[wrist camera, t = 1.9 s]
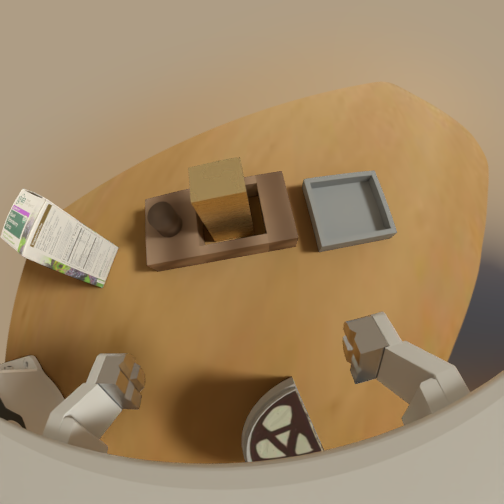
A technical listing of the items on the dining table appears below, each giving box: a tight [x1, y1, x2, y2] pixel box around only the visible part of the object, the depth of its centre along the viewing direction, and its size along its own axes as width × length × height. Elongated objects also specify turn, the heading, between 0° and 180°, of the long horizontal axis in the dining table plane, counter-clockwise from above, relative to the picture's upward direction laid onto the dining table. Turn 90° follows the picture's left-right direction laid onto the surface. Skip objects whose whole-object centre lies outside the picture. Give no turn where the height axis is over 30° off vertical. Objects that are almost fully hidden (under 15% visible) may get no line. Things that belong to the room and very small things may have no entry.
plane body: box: [145, 171, 298, 271], centre depth 28 cm, size 16×8×6 cm, turn 100°
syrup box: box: [1, 188, 118, 288], centre depth 24 cm, size 6×6×14 cm
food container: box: [242, 376, 324, 462], centre depth 20 cm, size 12×6×10 cm, turn 22°
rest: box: [302, 171, 397, 252], centre depth 30 cm, size 9×8×2 cm
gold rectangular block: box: [188, 157, 255, 242], centre depth 26 cm, size 4×4×10 cm
